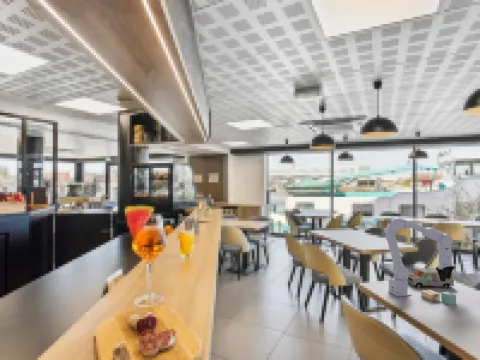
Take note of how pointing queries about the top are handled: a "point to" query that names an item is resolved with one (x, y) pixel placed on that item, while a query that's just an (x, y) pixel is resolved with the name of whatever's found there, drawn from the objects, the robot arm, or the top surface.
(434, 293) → the beech block
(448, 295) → the teal block
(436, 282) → the toy car
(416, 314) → the top surface
